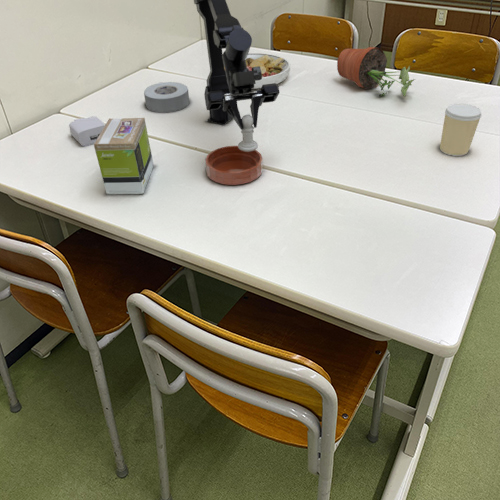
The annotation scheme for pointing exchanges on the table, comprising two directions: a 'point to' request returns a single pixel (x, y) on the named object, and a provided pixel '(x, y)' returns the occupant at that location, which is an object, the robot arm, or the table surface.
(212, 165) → the bowl
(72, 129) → the charger
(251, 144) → the chess piece
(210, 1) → the robot arm
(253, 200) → the table surface
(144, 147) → the tea box
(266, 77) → the bowl
